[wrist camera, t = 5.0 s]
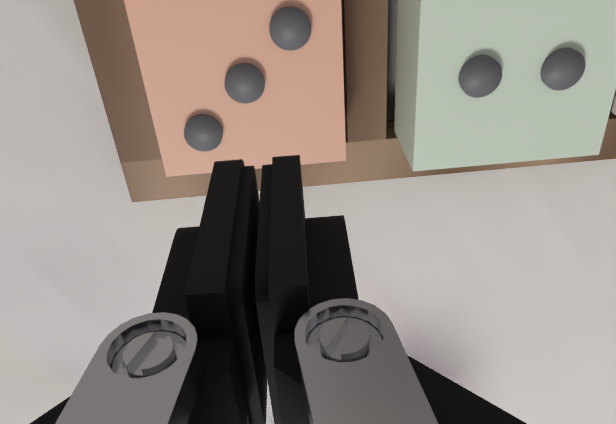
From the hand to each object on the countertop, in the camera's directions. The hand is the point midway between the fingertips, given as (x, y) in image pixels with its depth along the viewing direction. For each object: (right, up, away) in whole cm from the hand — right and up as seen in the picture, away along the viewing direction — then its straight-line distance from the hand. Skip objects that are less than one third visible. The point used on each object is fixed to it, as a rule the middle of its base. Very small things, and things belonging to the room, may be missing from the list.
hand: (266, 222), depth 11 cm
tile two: (+7, +6, +7) cm, 12 cm away
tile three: (-1, +6, +8) cm, 10 cm away
